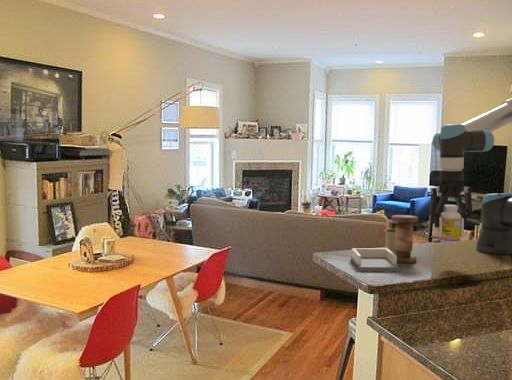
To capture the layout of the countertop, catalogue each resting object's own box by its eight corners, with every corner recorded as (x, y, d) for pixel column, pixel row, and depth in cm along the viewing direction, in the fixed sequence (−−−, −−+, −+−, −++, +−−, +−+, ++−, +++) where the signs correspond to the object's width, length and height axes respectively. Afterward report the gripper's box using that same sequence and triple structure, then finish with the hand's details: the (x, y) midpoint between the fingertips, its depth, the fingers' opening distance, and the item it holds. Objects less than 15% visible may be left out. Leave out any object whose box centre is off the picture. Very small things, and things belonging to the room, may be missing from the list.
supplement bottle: (435, 241, 168) (436, 205, 167) (449, 239, 171) (450, 203, 170) (450, 245, 162) (451, 207, 161) (464, 243, 165) (465, 205, 164)
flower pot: (381, 253, 186) (381, 231, 186) (386, 249, 195) (387, 227, 194) (406, 256, 182) (406, 233, 181) (410, 251, 190) (411, 229, 190)
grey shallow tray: (386, 260, 176) (387, 248, 175) (399, 271, 160) (399, 258, 159) (351, 260, 176) (351, 247, 175) (360, 271, 160) (360, 258, 159)
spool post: (411, 257, 180) (413, 215, 179) (419, 263, 171) (421, 218, 170) (387, 257, 180) (388, 214, 179) (394, 263, 171) (395, 218, 170)
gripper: (475, 168, 168) (473, 234, 170) (419, 169, 168) (417, 234, 170) (485, 170, 161) (483, 238, 163) (426, 171, 161) (425, 239, 163)
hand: (449, 236), depth 167 cm, fingers closed on supplement bottle, 7 cm apart
